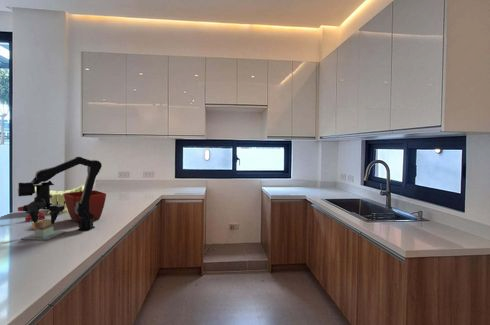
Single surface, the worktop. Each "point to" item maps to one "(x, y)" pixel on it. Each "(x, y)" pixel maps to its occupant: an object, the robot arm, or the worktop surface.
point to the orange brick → (34, 224)
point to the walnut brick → (43, 224)
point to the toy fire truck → (29, 218)
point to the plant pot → (95, 204)
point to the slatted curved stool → (62, 197)
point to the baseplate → (32, 237)
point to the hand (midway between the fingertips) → (44, 224)
